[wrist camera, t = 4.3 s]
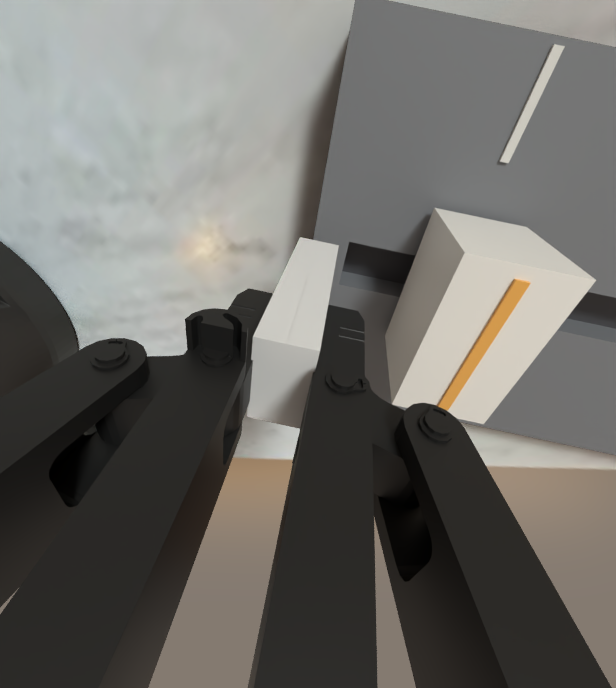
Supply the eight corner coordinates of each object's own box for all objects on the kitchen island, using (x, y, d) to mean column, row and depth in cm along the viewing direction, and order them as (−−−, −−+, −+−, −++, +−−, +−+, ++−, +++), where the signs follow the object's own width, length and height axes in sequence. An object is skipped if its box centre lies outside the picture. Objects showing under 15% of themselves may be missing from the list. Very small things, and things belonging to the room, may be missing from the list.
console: (295, 353, 21) (287, 386, 19) (357, 15, 12) (356, -8, 9) (684, 436, 21) (727, 480, 19) (1075, 163, 12) (1271, 180, 9)
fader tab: (383, 319, 17) (391, 406, 12) (427, 198, 13) (465, 254, 8) (449, 333, 17) (484, 426, 12) (511, 215, 13) (598, 281, 8)
